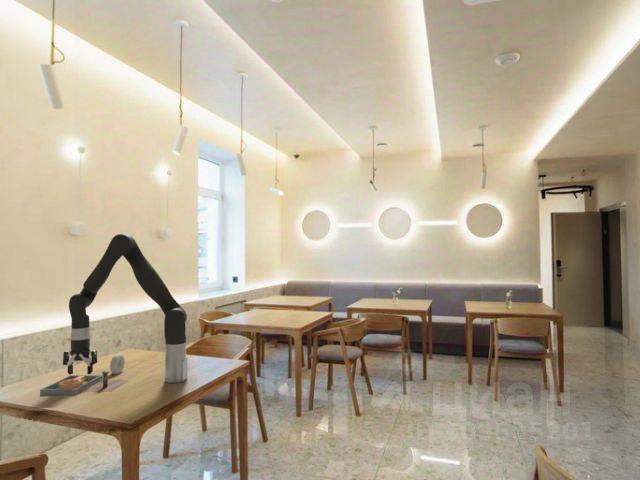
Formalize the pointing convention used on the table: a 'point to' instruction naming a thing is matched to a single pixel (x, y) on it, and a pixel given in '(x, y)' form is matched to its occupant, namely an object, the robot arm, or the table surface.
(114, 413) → the table surface
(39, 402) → the table surface
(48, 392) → the tray
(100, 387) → the panel
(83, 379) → the ring
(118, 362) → the donut
